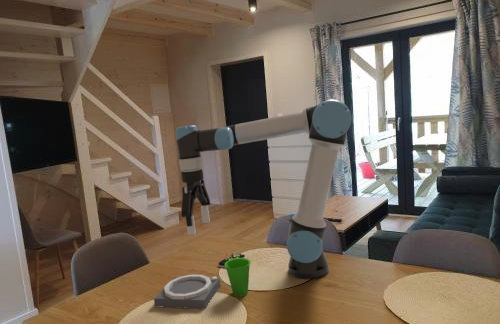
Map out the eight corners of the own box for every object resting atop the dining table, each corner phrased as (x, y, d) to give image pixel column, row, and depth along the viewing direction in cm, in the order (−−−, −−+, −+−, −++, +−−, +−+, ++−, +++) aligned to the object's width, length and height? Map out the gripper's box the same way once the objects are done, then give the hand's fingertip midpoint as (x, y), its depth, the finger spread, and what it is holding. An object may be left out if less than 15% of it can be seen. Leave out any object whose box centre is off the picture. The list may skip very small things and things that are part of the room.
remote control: (217, 267, 152) (216, 262, 152) (234, 256, 163) (234, 251, 163) (229, 269, 149) (228, 264, 149) (246, 258, 160) (246, 253, 159)
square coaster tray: (220, 285, 134) (219, 274, 134) (205, 308, 119) (203, 296, 118) (175, 284, 139) (174, 274, 138) (155, 306, 123) (153, 295, 123)
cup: (250, 299, 122) (247, 268, 121) (224, 299, 124) (221, 268, 123) (255, 287, 131) (252, 257, 129) (231, 286, 133) (228, 257, 131)
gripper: (195, 165, 141) (202, 218, 144) (165, 177, 117) (174, 240, 120) (213, 163, 139) (220, 217, 142) (186, 175, 115) (195, 240, 118)
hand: (199, 228), depth 131 cm, fingers open, 13 cm apart
